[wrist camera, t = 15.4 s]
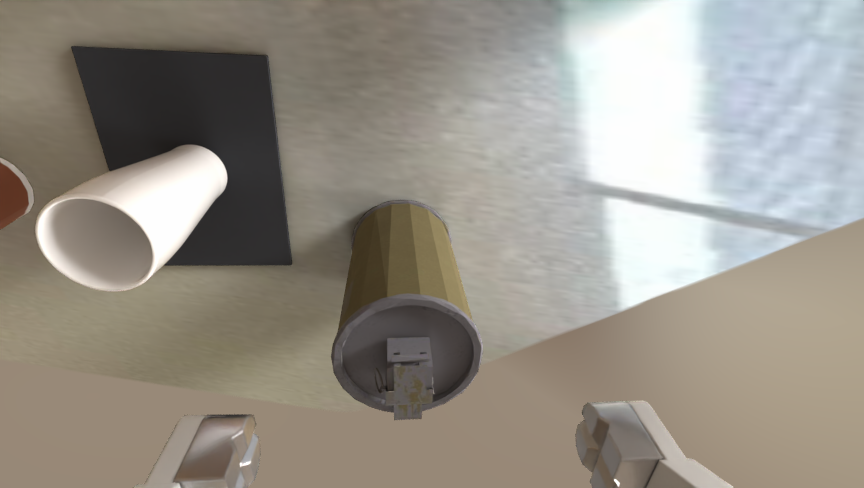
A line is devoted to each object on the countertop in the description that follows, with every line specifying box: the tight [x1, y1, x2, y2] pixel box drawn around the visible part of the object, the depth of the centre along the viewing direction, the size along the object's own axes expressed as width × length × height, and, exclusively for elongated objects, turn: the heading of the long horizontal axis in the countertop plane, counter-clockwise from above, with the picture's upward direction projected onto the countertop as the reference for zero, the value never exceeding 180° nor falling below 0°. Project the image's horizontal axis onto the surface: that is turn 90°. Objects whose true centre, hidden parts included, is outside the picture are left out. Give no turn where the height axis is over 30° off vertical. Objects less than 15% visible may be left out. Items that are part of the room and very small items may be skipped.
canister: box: [331, 200, 483, 420], centre depth 35 cm, size 11×10×20 cm
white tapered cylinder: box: [35, 144, 227, 291], centre depth 32 cm, size 7×7×15 cm
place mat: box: [71, 46, 292, 265], centre depth 38 cm, size 20×15×1 cm
